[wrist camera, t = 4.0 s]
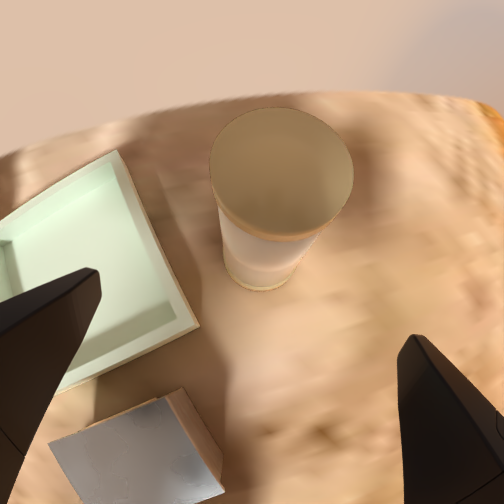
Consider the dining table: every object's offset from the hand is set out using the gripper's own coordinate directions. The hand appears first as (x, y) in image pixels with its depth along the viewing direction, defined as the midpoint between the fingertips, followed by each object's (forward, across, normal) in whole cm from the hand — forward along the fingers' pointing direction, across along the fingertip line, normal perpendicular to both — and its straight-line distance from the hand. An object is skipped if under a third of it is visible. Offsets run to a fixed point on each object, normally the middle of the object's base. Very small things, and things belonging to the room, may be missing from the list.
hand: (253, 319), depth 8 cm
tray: (+8, +11, +8) cm, 16 cm away
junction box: (+2, +4, +14) cm, 14 cm away
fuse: (+11, 0, +4) cm, 12 cm away
